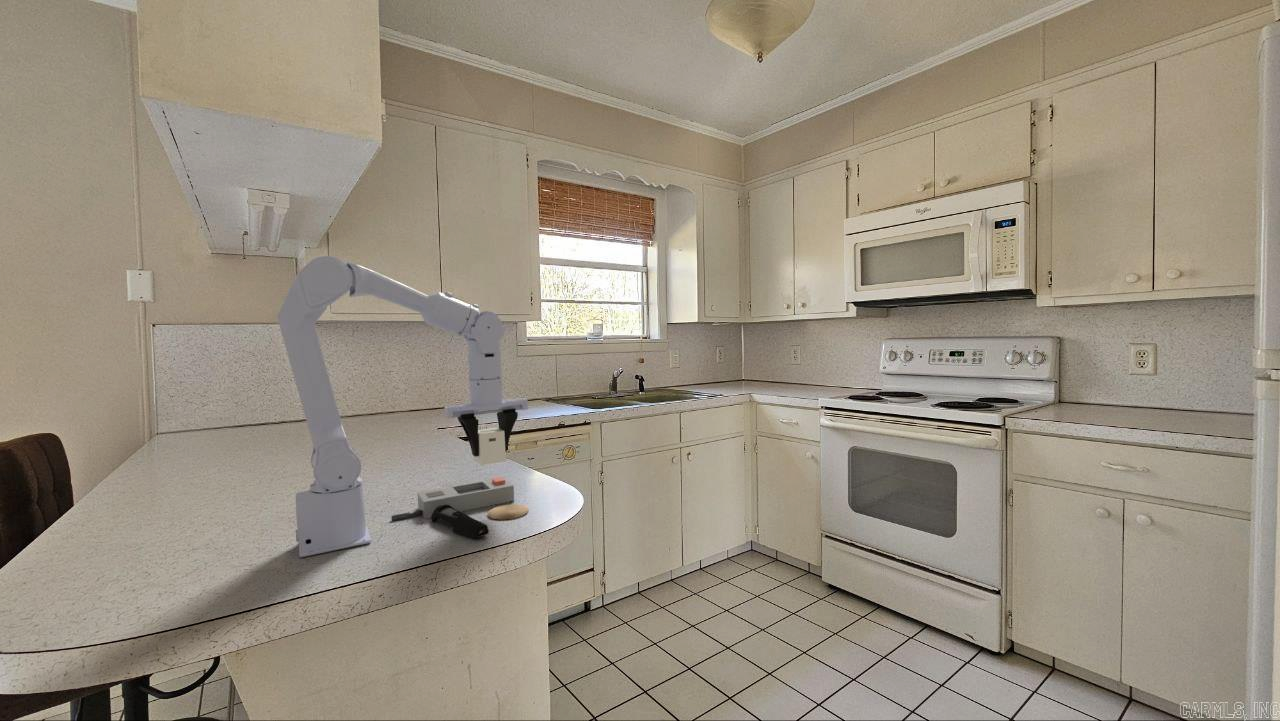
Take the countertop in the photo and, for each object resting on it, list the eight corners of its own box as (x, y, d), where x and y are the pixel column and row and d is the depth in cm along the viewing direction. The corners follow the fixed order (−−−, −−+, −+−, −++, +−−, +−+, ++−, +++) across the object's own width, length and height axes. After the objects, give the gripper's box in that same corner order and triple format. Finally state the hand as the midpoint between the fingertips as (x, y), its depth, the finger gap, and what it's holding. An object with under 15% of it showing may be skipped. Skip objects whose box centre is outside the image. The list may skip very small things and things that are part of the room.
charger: (481, 465, 96) (479, 433, 95) (474, 460, 99) (472, 430, 99) (506, 461, 98) (504, 430, 98) (498, 456, 102) (496, 427, 101)
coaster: (494, 522, 92) (494, 520, 92) (483, 511, 98) (483, 509, 98) (534, 514, 95) (533, 512, 95) (521, 503, 101) (520, 501, 101)
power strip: (393, 525, 92) (392, 503, 92) (388, 513, 98) (387, 493, 98) (514, 501, 103) (513, 481, 103) (503, 492, 109) (502, 473, 109)
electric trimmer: (472, 547, 83) (471, 527, 82) (429, 522, 94) (428, 504, 94) (494, 540, 85) (494, 520, 85) (450, 517, 96) (449, 499, 96)
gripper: (517, 374, 105) (521, 443, 106) (439, 380, 97) (443, 455, 98) (530, 376, 99) (534, 449, 100) (447, 383, 91) (452, 462, 92)
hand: (490, 453), depth 98 cm, fingers closed on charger, 4 cm apart
